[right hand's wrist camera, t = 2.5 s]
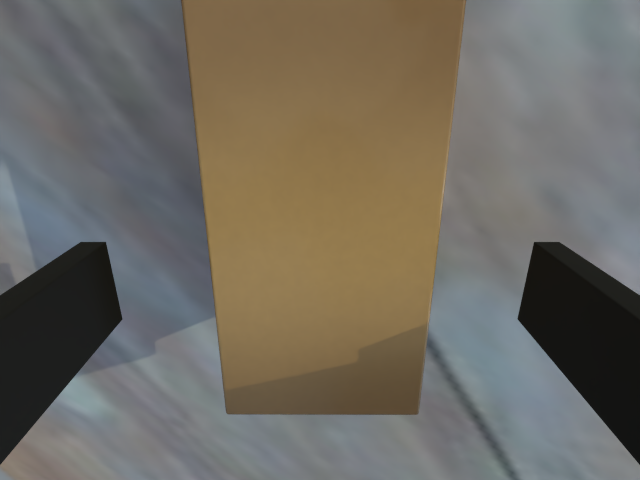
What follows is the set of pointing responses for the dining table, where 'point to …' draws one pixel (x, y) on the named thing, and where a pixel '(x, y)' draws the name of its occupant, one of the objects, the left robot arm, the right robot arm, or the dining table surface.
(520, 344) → the dining table surface
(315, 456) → the dining table surface
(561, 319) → the right robot arm
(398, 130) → the box
